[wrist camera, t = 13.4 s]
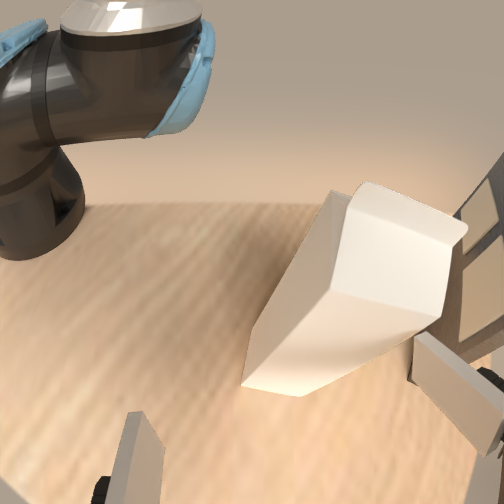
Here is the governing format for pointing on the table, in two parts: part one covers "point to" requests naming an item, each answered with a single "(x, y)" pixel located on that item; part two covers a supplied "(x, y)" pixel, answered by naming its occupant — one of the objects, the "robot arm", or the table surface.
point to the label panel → (476, 276)
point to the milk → (352, 290)
